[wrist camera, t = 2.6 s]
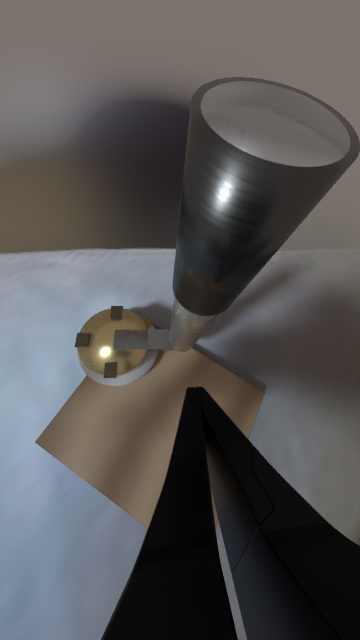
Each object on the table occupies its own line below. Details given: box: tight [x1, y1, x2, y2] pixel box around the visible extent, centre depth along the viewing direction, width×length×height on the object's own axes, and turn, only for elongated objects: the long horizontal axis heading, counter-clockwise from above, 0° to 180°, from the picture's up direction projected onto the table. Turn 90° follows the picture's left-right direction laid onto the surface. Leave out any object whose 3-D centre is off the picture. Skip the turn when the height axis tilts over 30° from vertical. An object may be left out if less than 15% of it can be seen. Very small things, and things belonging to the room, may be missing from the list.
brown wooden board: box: [35, 309, 265, 528], centre depth 16 cm, size 19×14×2 cm
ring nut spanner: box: [75, 77, 360, 378], centre depth 10 cm, size 10×6×16 cm, turn 92°
